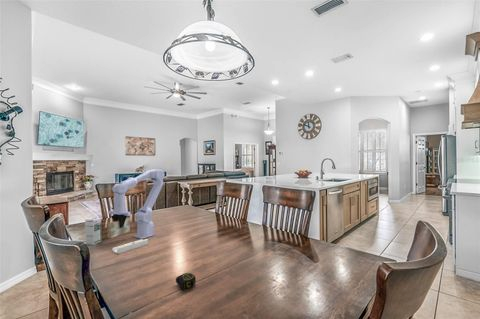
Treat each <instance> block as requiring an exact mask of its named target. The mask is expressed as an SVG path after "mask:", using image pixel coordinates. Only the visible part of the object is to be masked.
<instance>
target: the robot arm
mask: <svg viewBox="0 0 480 319" xmlns="http://www.w3.org/2000/svg"><path fill="white" fill-rule="evenodd" d="M164 177H165V172H164V171H163V170H162V169H161V168H160V169H157V168H156V169H154V168H151V169H148V170H147V171H144V172H143V173H141V174H139V175H138V176H136V177H130V176H129V177H127V178H126V179H125V180H123V181H122V180H121V181H120V183H115V184H114V185H113V186H112V188H111V191H112V192H113V210H108V215H111V216H110V218H112V222H114V221H118V220H119V225H120V228H122V227H124V223H125V220H126V218H129V216H131V213H132V212H131V211H127V210H126V195H125V194H126V192H127V191H129V190H130V189H132V188H134V187H136V186H137V184H138V183H140V182H143V181H144V180H146V179H150V180H151V181H152V183H153V186H152V187H151V189H150V191H149V194H148V196H147V198H146V200H145V202H144V204H143V206H142V207H140V208H139V210H138V211H136V213H135V216H134V218H135V220H136V223H137V225H136V226H137V227H136V229H137V234H136V235H134V236H133V237H135V238H138V239H139V240H141V239H143V240H144V239H147V238H149V237H152V236H155V231H154V230H155V226H154V222H153V221H152V217H153V216H152V215H153V213H154V212H153V210H152V209H153V207H154V205H155V203H156V200H157V198H158V196H159V194H160V192H161V191H162V188H163V185H164Z"/></svg>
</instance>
